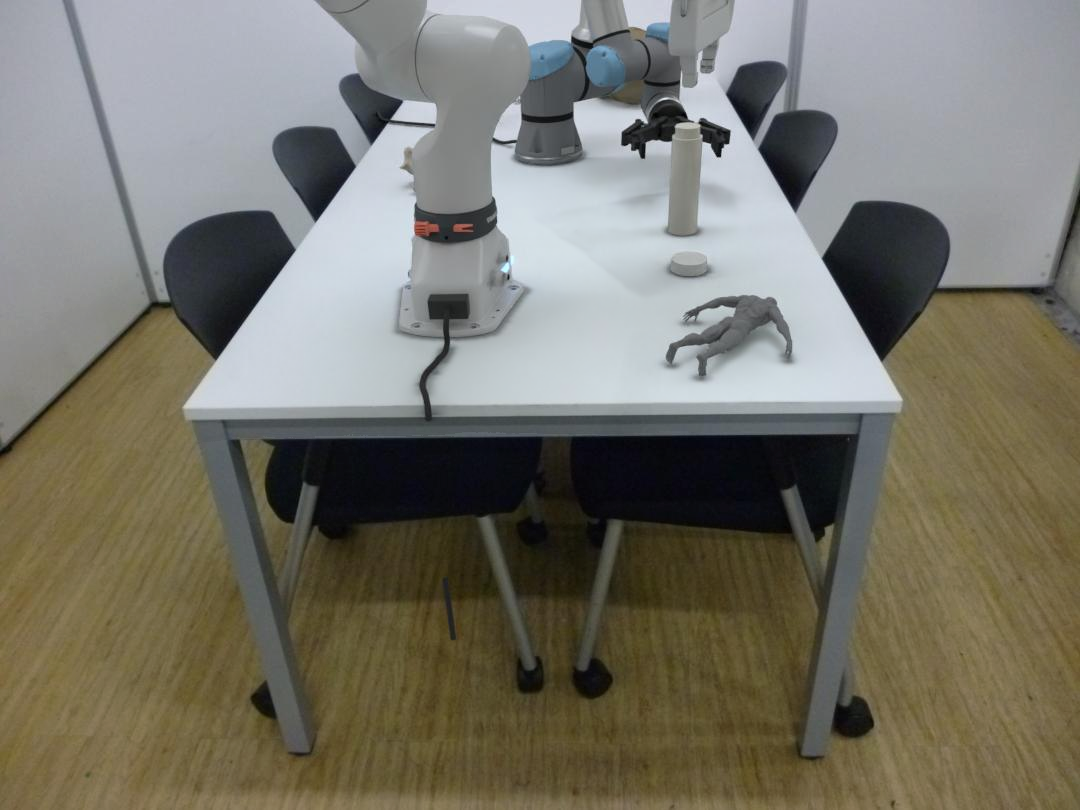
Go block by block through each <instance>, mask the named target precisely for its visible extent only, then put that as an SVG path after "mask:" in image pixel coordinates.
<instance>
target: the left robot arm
mask: <svg viewBox="0 0 1080 810" xmlns="http://www.w3.org/2000/svg"><path fill="white" fill-rule="evenodd" d="M313 1H314V2H315V3H316V4H317V5H318V6H319V7H320V8H321V9H322V10H324V11H325V12H326V13H327V14H328V15H329V17H331V18H332V19H333V20H335V22H336V23H337V24H338V25H339V26H341V27H342V28H343V29H344V30H345V31H346V32H347V33H348V34H349V35H350V36H351V37H352V38H353V39H354V40H355V44H354V62H355V66H356V69H357V72H358V75H359V77H360V79H361V81H362V82H363V83H364V84H365V86H367V88H369V89H370V90H371V91H375V92H377V93H379V94H382V95H385V96H388V97H391V98H394V99H396V100H399V101H408V102H418V103H428V104H435V108H436V117H435V123H434V124H435V127H434V128H433V129H432V130H430V131H429V132H427V133H426V134H424V135H423V136H421V137H420V138H419V140H418V141H416V143H415V144H414V146H413V147H412V148H413V151H412V155H411V160H412V169H413V175H412V176H413V184H414V186H415V192H414V194H415V199H416V202H415V203H414V209H413V210H414V211H413V222H414V223H413V232H414V235H413V236H412V237H411V246H412V247H411V248H412V250H411V262H410V263H411V266H410V269H408V271H407V277H408V278H409V279H410V280H408V281H405V282H404V283H403V284H402V292H401V299H400V308H399V309H400V310H399V318H398V329H399V331H401V332H403V333H406V334H410V335H415V336H421V337H422V336H423V337H434V338H435V337H437V338H443V347H442V350H441V351H440V353H439V354H437V356H436V357H435V358H434V359H433V361H432V362H430V364H429V365H428V366H427V367H426V368H425V369H424V370H423V371H422V374H421V376H420V379H419V382H418V383H419V384H418V386H419V392H420V394H421V397H422V400H423V408H424V420H425V422H431V421H432V420H433V415H432V404H431V399H430V394H429V391H428V389H427V380H428V377H429V376H430V374H432V372H433V371H434V370H435V369H436V368H437V367H438V366H439V364H440V363H441V362H442V361H443V360H444V359H445V358H446V357H447V356H448V353H449V351H450V346H451V338H458V337H459V338H460V337H473V336H479V335H484V334H489V333H492V332H494V331H496V330H497V328H498V327H499V326H500V324H502V322H503V320H504V319H505V318H506V316H507V315H508V314H509V312H510V311H511V309H512V308H513V307H514V306H515V304H516V303H517V301H518V300H519V298H520V297H522V295H523V293H524V292H525V287H524V283H523V282H522V281H519V280H517V279H514V277H513V268H512V265H513V264H514V262H515V256H514V255H511V249H510V241H509V238H508V237H507V236H506V235H505V234H504V233H503V232H502V231H501V230H500V228H499V227H498V225H497V224H498V206H497V201H496V198H495V196H493V185H492V183H493V182H492V146H493V145H492V144H493V141H492V140H493V138H494V136H495V135H494V134H495V131H496V128H497V126H498V124H499V121H500V119H501V118H502V116H503V114H504V113H505V112H506V110H507V109H508V108H509V107H510V106H511V105H512V104H513V103H515V102H516V101H517V100H518V99H519V98H520V95H521V94H522V92H523V91H524V89H525V87H526V85H527V83H528V80H529V77H530V72H531V55H530V50H529V47H528V46H529V44H528V42H527V39H526V38H525V36H524V35H523V32H522V31H521V30H520V29H519V28H518V27H517V26H515V25H513V24H511V23H508V22H505V21H501V20H498V19H495V18H491V17H487V16H482V15H461V14H460V15H459V14H443V13H442V14H441V13H436V12H432V11H430V10H427V7H428V0H313ZM735 2H736V0H671V7H670V17H669V23H670V27H669V41H668V46H669V52H670V54H671V55H672V56H680V65H681V86H682V87H683V88H685V89H693V88H695V87H696V86H697V85H698V82H699V80H698V78H699V72H700V73H701V74H705V75H706V74H707V75H708V74H709V75H710V74H712V73H713V72H714V71H715V68H716V58H717V55H718V51H719V46H720V38H723V36H724V35H726V34H728V33H729V31H730V28H731V25H732V21H733V16H734V10H735ZM701 52H702V53H701ZM700 53H701V59H700V63H699V66H700V67H699V72H698V61H699V54H700ZM414 186H413V187H414ZM441 581H442V588H443V596H444V602H445V611H446V616H447V625H448V631H449V638H450V640H451V641H455V640H457V633H456V627H455V619H454V610H453V606H452V605H453V603H452V596H451V591H450V590H451V589H450V583H449V576H446V577H443V578H441Z"/></svg>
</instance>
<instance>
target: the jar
mask: <svg viewBox="0 0 1080 810" xmlns="http://www.w3.org/2000/svg"><path fill="white" fill-rule="evenodd" d="M700 128H701V126H700V124H697V122H695V123H690V122H687V123H679V124H676V125H675V134H673V135H672V141H671V149H670V168H669V169H670V171H669V172H670V173H669V192H668V193H669V195H668V213H667V214H668V216H667V232H668V234H671V235H673V236H678V237H679V236H681V237H685V236H692V235H694V234H696V233H697V231H698V218H699V217H698V216H699V204H700V203H699V201H700V186H701V171H702V157H703V156H702V155H703V143H704V142H703V135H701V134H700Z"/></svg>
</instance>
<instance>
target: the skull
mask: <svg viewBox="0 0 1080 810" xmlns="http://www.w3.org/2000/svg"><path fill="white" fill-rule="evenodd" d="M629 30H630V33H631V37H632V40H635V39H641V38H646V37H645V34H646V29H643V28H640V27H637V26H629ZM643 90H644V79H642V80H637V81H632V82H628V83H626V84H625V85H624V87H623V88H621V89H620V90H619V91H617V92H615V93H612V94H610V95H608V97H609V98H611V99H613V100H614V101H616V102H620V103H624V104H628V105H641V96H642V93H643ZM599 98H600V99H603V98H604V97H599Z"/></svg>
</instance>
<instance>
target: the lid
mask: <svg viewBox="0 0 1080 810" xmlns="http://www.w3.org/2000/svg"><path fill="white" fill-rule="evenodd" d="M670 260H671V261H670V270H671V272H672V273H673V274H675V275H676V276H681V277H699V276H702V275H704V274H705V273H706V272H707V270H708V257H707V256H706V254H705V253H701V252H698V251H687V250H685V251H679V252H676V253H674V254H673V255H672V256H671V259H670Z"/></svg>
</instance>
